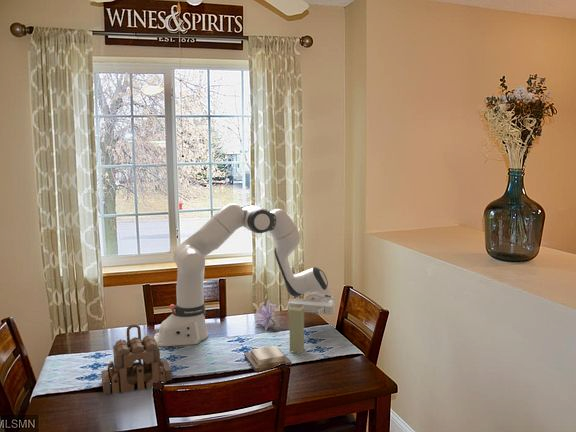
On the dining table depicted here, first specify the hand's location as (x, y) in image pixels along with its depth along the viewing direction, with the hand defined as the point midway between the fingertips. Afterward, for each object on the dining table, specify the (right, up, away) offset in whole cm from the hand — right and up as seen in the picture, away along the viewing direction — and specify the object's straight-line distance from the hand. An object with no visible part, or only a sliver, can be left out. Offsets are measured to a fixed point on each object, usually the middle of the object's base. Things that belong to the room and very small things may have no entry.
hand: (306, 312), depth 204 cm
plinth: (-15, -14, -20) cm, 29 cm away
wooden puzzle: (-59, -17, -35) cm, 71 cm away
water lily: (-18, -10, +18) cm, 27 cm away
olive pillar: (-4, -13, -10) cm, 17 cm away
